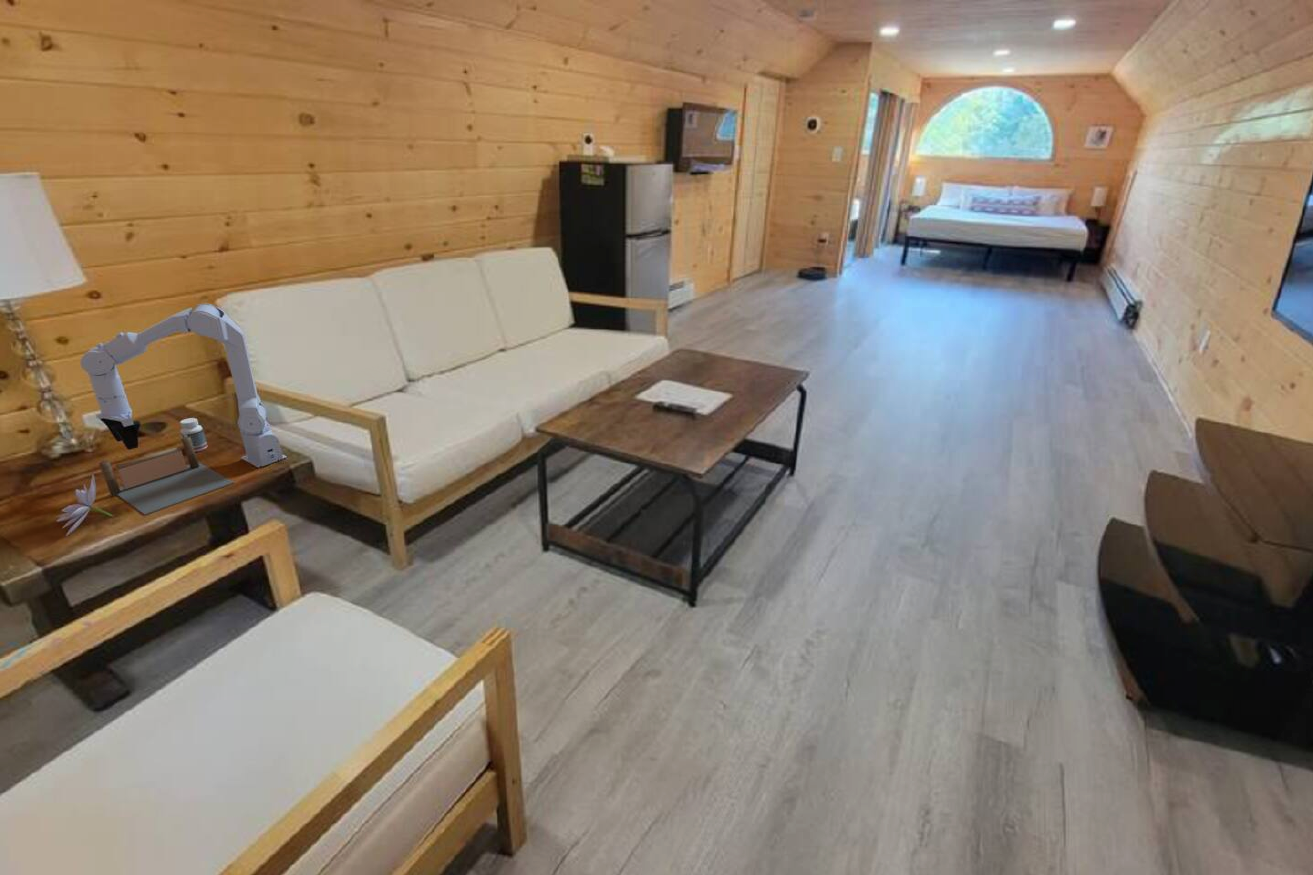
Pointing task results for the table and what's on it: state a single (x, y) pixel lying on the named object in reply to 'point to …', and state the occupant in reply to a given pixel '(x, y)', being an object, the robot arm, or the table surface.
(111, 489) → the brown wooden posts
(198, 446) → the pill bottle
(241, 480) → the table surface
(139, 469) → the brown rimmed panel
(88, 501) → the water lily
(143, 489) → the mat
